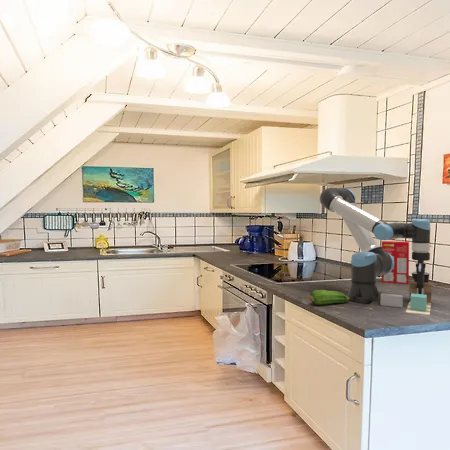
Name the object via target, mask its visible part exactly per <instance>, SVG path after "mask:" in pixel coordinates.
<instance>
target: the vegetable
mask: <svg viewBox="0 0 450 450" xmlns="http://www.w3.org/2000/svg"><path fill="white" fill-rule="evenodd" d="M309 298H310V302H312V304H314V305H316V306H325V305H326V306H327V305H332V304H343V303H345V302H348V301H349V297H348V295H346V294H345V293H344V292H341V291H336V290H325V289H315V290H313V291H311V293H310V295H309Z"/></svg>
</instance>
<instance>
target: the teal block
mask: <svg viewBox="0 0 450 450" xmlns="http://www.w3.org/2000/svg"><path fill="white" fill-rule="evenodd" d="M426 309H427V295H423V294H413V293H412V294H411V304H410V310H417V311H426Z"/></svg>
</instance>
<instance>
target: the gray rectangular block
mask: <svg viewBox="0 0 450 450" xmlns="http://www.w3.org/2000/svg"><path fill="white" fill-rule="evenodd" d="M403 298H404V296H403V295H402V294H392V293H383V292H382V293H380V306H384V307H392V308H394V307H395V308H401V309H402V308H403V305H404V304H403V303H404V301H403V300H404V299H403Z"/></svg>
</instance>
